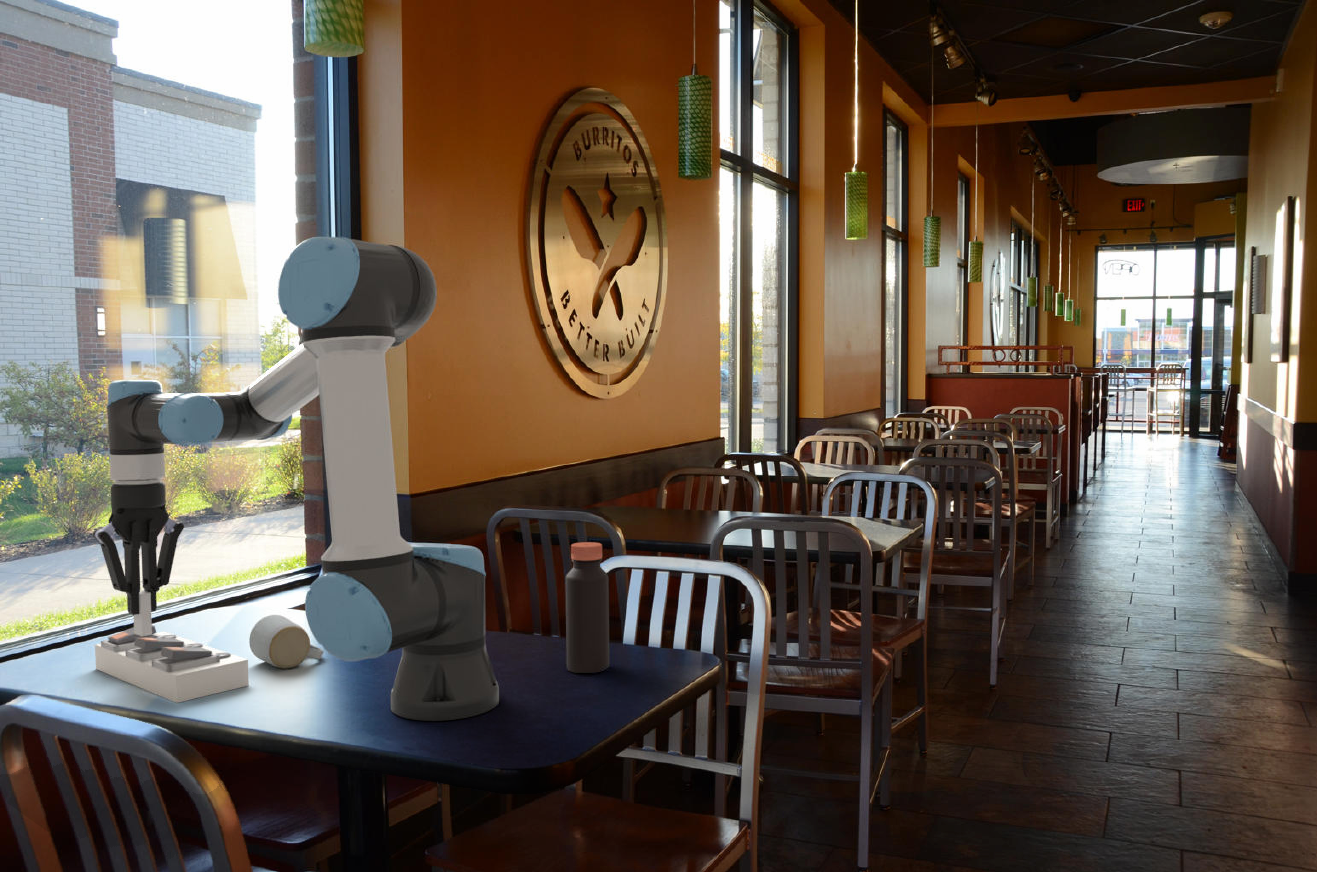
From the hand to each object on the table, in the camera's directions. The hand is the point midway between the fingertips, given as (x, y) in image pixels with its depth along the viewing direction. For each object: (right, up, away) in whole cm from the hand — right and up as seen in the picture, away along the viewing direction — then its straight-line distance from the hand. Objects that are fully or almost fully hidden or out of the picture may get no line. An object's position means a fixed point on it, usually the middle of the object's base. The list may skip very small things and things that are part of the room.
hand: (143, 633), depth 162 cm
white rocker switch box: (+3, -7, +3) cm, 8 cm away
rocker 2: (+8, -3, -4) cm, 10 cm away
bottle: (+68, -7, +6) cm, 69 cm away
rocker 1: (-5, -2, +8) cm, 9 cm away
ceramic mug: (+19, -7, +11) cm, 23 cm away
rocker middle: (+2, -2, +2) cm, 3 cm away
